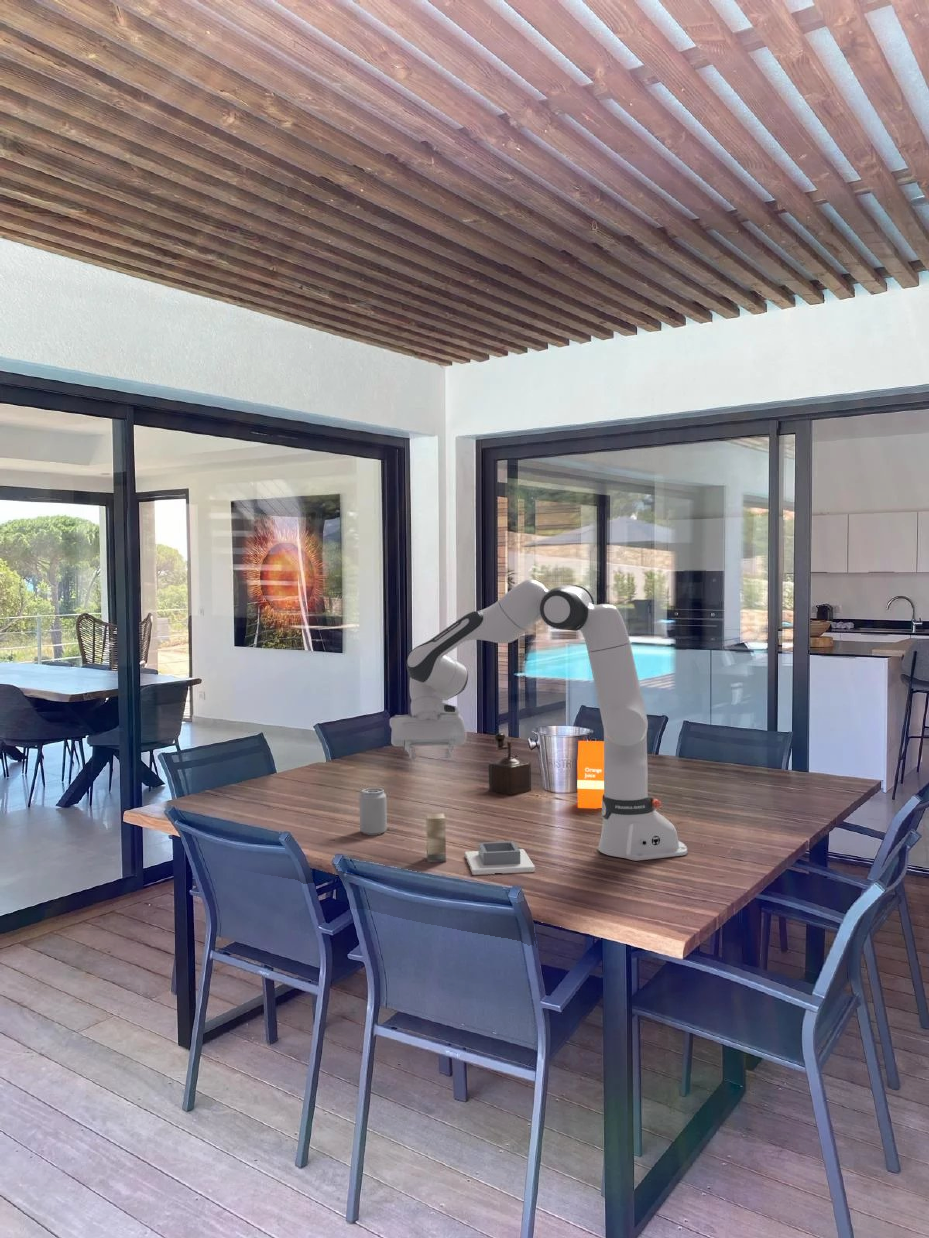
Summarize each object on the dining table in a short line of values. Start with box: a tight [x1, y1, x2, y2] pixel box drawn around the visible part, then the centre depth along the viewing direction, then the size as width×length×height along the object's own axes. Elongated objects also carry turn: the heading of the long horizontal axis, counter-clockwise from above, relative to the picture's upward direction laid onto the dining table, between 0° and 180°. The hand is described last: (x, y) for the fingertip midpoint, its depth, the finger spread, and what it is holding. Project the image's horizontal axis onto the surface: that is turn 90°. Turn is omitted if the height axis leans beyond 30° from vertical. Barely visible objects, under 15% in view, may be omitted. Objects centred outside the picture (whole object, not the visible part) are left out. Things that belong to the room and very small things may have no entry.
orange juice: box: [576, 740, 604, 809], centre depth 286 cm, size 8×9×20 cm
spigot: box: [425, 813, 447, 864], centre depth 232 cm, size 4×4×11 cm
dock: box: [464, 840, 536, 876], centre depth 228 cm, size 15×15×4 cm
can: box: [359, 787, 388, 836], centre depth 258 cm, size 8×8×12 cm
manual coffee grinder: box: [488, 732, 532, 796], centre depth 309 cm, size 16×11×18 cm
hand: (430, 757), depth 243 cm, fingers open, 8 cm apart
